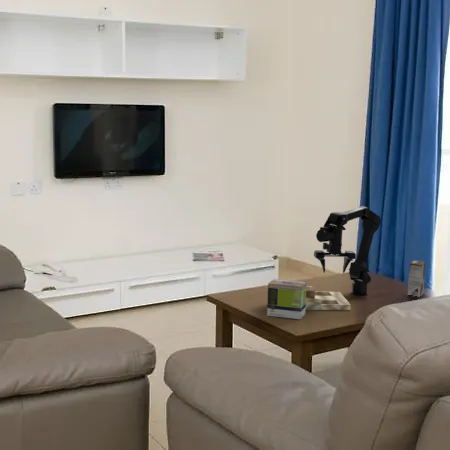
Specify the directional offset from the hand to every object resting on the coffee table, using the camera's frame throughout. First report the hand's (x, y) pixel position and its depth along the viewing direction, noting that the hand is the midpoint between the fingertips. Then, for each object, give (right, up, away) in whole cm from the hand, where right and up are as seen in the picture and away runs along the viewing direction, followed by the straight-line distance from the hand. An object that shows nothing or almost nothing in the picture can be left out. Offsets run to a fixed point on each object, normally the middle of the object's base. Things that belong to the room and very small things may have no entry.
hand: (333, 272), depth 344 cm
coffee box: (+42, -12, +16) cm, 47 cm away
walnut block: (-13, -11, -5) cm, 18 cm away
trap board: (-6, -14, -4) cm, 16 cm away
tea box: (-24, -17, -24) cm, 38 cm away
